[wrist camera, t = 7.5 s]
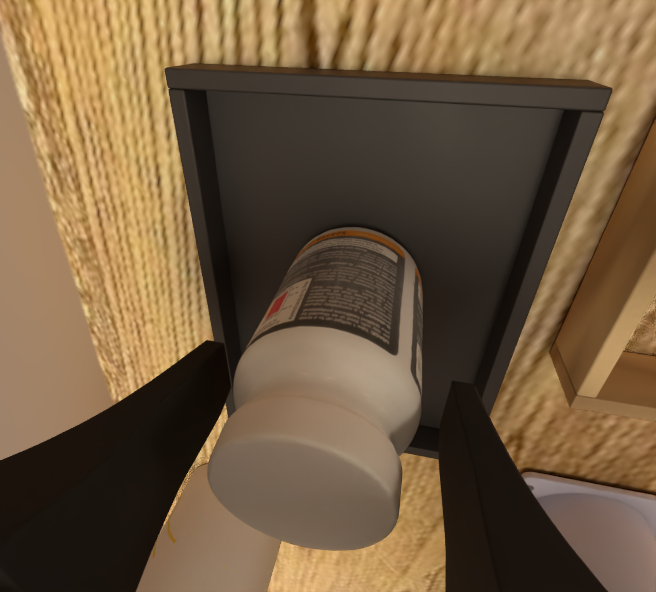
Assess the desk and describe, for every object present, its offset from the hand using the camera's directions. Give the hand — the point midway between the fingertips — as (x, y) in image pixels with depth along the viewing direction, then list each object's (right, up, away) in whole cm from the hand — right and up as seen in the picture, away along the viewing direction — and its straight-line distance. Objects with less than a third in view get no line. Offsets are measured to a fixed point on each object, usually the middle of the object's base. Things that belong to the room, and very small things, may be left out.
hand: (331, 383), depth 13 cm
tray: (+1, +3, +5) cm, 7 cm away
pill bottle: (+1, +3, +5) cm, 6 cm away
